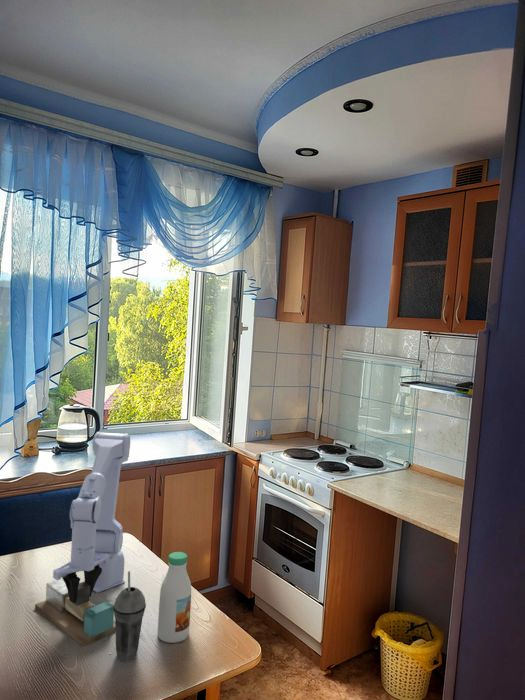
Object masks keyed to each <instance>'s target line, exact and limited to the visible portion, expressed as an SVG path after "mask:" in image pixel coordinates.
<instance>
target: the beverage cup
mask: <svg viewBox="0 0 525 700" xmlns="http://www.w3.org/2000/svg"><path fill="white" fill-rule="evenodd" d="M113 605H114V607H113V609H114V621H115V630H116V631H115V651H116V652H115V653H116V659H117V660H118V661H120V662H124V663H128V662H127V661H129V662H132V661H134V660H135V659H136V658H137V657H138V655H137V654H138V650H139V643H140V638H141V637H140V636H141V630H142V625H143V624H142V623H143V617H144V614H145V610H146V608H147V604H146V598H145V595H144V593H143V592H142V591H141V590H140V589H139V588H137V587H135V586H131V571H130V570H129V571H128V572H127V587H125V588H123V589H122V590H121V591H120V592H119V593H118V594H117V596H116V598H115V601H114V604H113ZM136 656H137V657H136ZM135 657H136V658H135ZM134 658H135V659H134ZM133 659H134V660H133ZM131 660H132V661H131Z"/></svg>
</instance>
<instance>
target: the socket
mask: <svg viewBox="0 0 525 700" xmlns="http://www.w3.org/2000/svg"><path fill="white" fill-rule="evenodd" d="M113 607H114V604H113V603H111V602H109V601H108V600H107V601H105V602H102V603H100V604H96V605H94V607H91V608H89V609H87V610H85V619H84V633H85V634H86V635H88V636H89V637H90V638H91V637H94V636H96V635H98V634H100V633H102V632H105V631H107V630H109V629H111V628H113V621H115V616H114V609H113Z"/></svg>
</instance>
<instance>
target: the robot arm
mask: <svg viewBox="0 0 525 700" xmlns="http://www.w3.org/2000/svg"><path fill="white" fill-rule="evenodd" d="M130 449H131V436H130V435H129V433H127V432H126V433H116V432H114V433H113V432H103V431H102V432H101V431H97V432H96V433H95V434H94V436H93V438H92V451H93V455H94V456H95V458H94V461H93V466H92V469H91V472H90V474H89V473H88V475H86V476H85V477H84V480H83V482H82V485H81V488H80V491H79V493H78V496H77V498H76V499H73V500H72V501H71V505H70V509H69V520H70V528H71V529H72V531H71V532H72V533H71V545H70V546H71V547H70V548H71V550H70V552H71V553H70V561H69V562H67V563H65V564H64V565H61V566H60V567H58V568H56V569H53V572H52V578H53V579H54V580H55V581H56V580H60V579H62V578H63V580H64V582H65V584H66V587H67V590H68V594H69V601H71V602H72V603H76V601H77V590H78V585H79V583H81V578H80V577H79V576H78V574H77V573H80V572H83V575H84V580H83V581H82V582H84V581H85V582H86V583H88V584H89V585H90V598H91V597H92V595H93V592H95V593H101V592H103V591H105V590H108V589H112V588H113V587H114V588H115V587H116V586H119V585H121V584H123V583H124V584H125V583H126V580H125V579H124V576H125V575H124V574H125V557H124V555H125V554H124V552H122V548H123V542H124V535H123V532H124V528H123V526H122V524H121V523H120V522H119V521H117V520H116V518H115V517H116V512H117V511H116V508H117V502H118V501H117V500H118V495H119V494H118V492H119V485H120V475H121V469H122V465H123V463H126V462H128V460H129V457H130Z"/></svg>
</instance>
